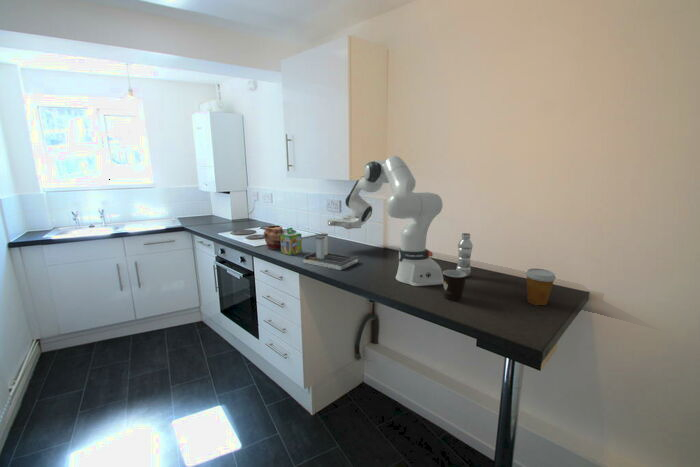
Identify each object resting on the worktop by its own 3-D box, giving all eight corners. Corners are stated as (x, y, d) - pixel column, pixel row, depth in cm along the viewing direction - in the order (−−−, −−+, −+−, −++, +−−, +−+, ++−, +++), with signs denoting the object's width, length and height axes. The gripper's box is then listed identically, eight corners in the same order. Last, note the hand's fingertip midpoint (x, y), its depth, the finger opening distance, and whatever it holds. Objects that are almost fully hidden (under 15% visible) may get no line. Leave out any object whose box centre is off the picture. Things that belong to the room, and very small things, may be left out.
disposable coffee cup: (554, 302, 119) (558, 271, 117) (548, 310, 112) (553, 278, 110) (526, 295, 126) (529, 266, 123) (519, 302, 119) (523, 272, 116)
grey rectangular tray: (357, 262, 169) (357, 255, 168) (340, 270, 156) (340, 263, 155) (321, 255, 182) (321, 249, 181) (303, 262, 168) (303, 256, 168)
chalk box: (291, 255, 182) (290, 230, 179) (280, 253, 187) (279, 228, 184) (302, 252, 189) (301, 227, 186) (291, 250, 194) (290, 226, 191)
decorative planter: (258, 246, 203) (256, 225, 200) (274, 243, 211) (273, 222, 208) (273, 252, 189) (272, 229, 186) (291, 248, 197) (290, 226, 194)
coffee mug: (466, 303, 118) (468, 277, 116) (442, 301, 120) (443, 276, 118) (461, 291, 129) (463, 268, 127) (439, 290, 131) (441, 266, 129)
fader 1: (324, 258, 168) (324, 236, 166) (321, 260, 165) (320, 237, 163) (319, 257, 170) (319, 236, 167) (315, 259, 167) (315, 237, 165)
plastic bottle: (469, 274, 150) (473, 233, 146) (470, 278, 144) (474, 236, 140) (455, 272, 152) (458, 232, 148) (456, 277, 146) (459, 235, 142)
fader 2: (328, 254, 175) (327, 233, 173) (324, 256, 173) (324, 234, 170) (323, 253, 177) (322, 233, 175) (319, 255, 174) (319, 234, 172)
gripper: (335, 215, 198) (321, 218, 186) (363, 217, 187) (351, 220, 176) (335, 225, 199) (321, 228, 188) (363, 228, 188) (351, 231, 177)
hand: (336, 224), depth 181 cm, fingers open, 8 cm apart
